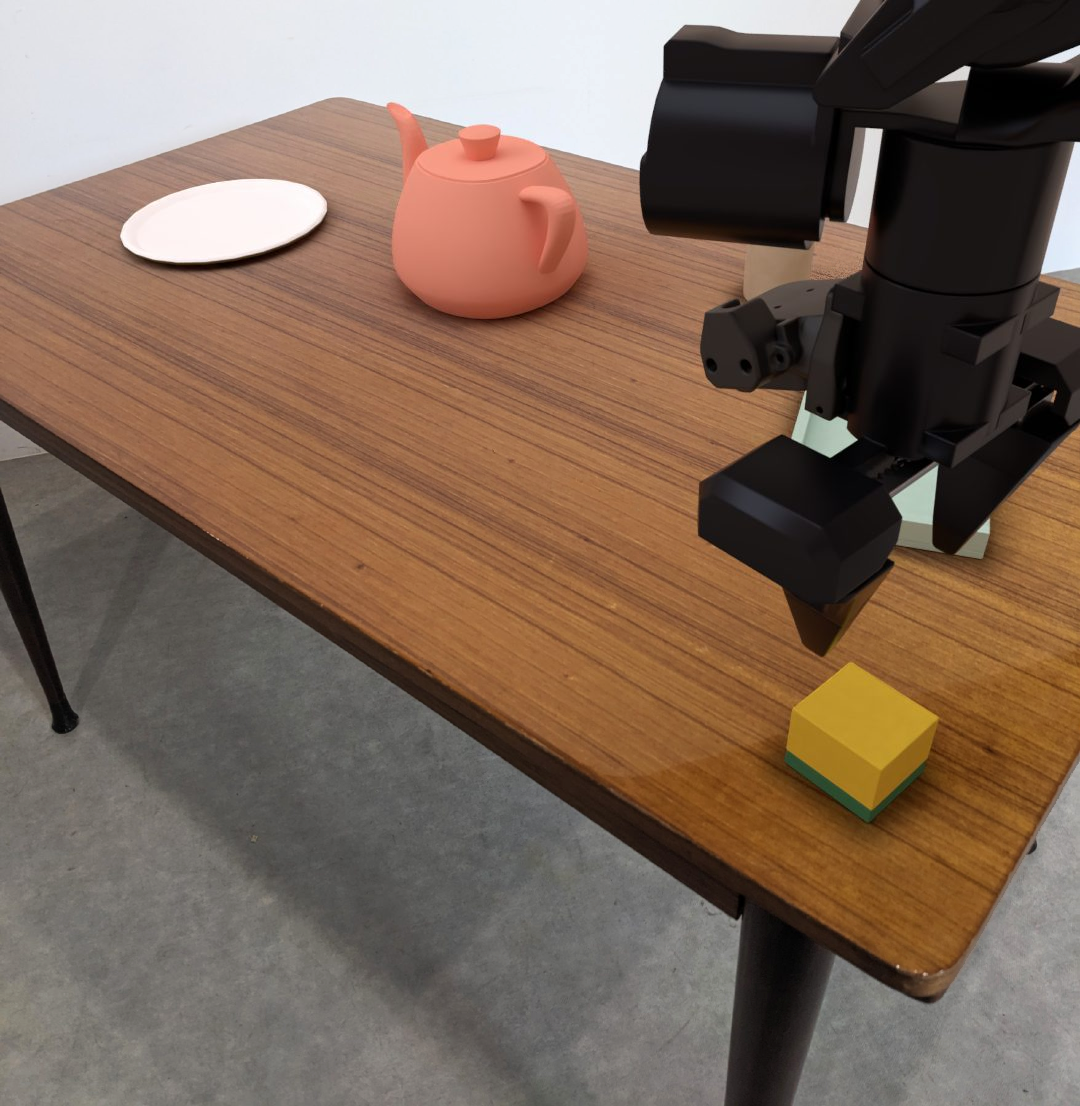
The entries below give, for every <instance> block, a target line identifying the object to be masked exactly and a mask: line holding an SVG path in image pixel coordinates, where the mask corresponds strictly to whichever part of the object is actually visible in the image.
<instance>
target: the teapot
mask: <svg viewBox="0 0 1080 1106" xmlns="http://www.w3.org/2000/svg"><path fill="white" fill-rule="evenodd" d="M386 109H387V112H388V113H389V115H390V116H391V118H392V120H393V121H394V123H395V125H396V128H397V131H398V134H399V139H400V143H401V156H402V159H401V160H402V185H403V188H402V191H401V194H400V197H399V200H398V203H397V207H396V210H395V215H394V220H393V225H392V236H391V253H392V262H393V267H394V269H395V272H396V274H397V275H398V278H399V279H400V280H401V282H402V283H403V284H404V285H405V286H406V288H408V290H410V291H411V293H413V294H414V295H415V296H416V297H417V298H418V299H420V301H422V302H423V303H425V304H426V305H427V306H429V307H430V308H433V309H435V310H437V311H439V312H442V313H445V314H447V315H448V314H449V315H452V316H457V317H460V318H466V319H474V320H476V319H477V320H493V319H503V318H508V317H513V316H514V317H515V316H517V315H521V314H525V313H528V312H531V311H533V310H536V309H539V308H542V307H544V306H546V305H548V304H550V303H552V302H554V301H555V300H558V299H559V298H561V297H562V296H564V295H565V294H567V292H568V291H569V290H570V289H571V288H572V286H573V285H574V284H575V283H576V282H577V280H578V279H579V278H580V276H581V275H582V273H583V271H584V270H585V268H586V267H587V263H588V259H589V256H590V253H589V240H588V235H587V230H586V226H585V222H584V217H583V215H582V212H581V209H580V207H579V204H578V202H577V200H576V198H575V196H574V194H573V192H572V190H571V188H570V186H569V184H568V182H566V180H565V178H564V176H563V174H562V173H561V171H560V169H559V167H558V165H557V164H556V162H555V161H554V160H553V159H552V157H551V156H550V154H549V153H548V152H547V151H546V150H545V149H544V148H543V147H542V146H540V145H539V144H537V143H535V142H534V141H531V140H529V139H525V138H521V137H518V136H513V135H507V134H502V133H501V132H502V130H501V128H500V127H498V126H495V125H492V124H474V125H470V126H466V127H464V128H462V129H460V130H459V131H458V133H457V135H458V138H455V139H451V140H447V141H445V142H441V143H438V144H436V145H433V146H431V147H429V145H428V143H427V141H426V138H425V135H424V133H423V130H422V129H421V126H420V124H419V122H418V120H417V118H416V117H415V116H414V114H413V113H412V112H411V111H410V110H409V109H407V108H406V107H405V106H403V105H401V104H400V103H397V102H392V101H391V102H388V103H386Z"/></svg>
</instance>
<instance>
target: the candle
mask: <svg viewBox="0 0 1080 1106" xmlns="http://www.w3.org/2000/svg"><path fill="white" fill-rule="evenodd" d="M745 245H746V247H745V260H744V272H743V273H744V274H743V287H742V288H743V289H742V292H743V297H744V299H745V300H746V302H747V301H749V300H751V299H753V298H755V297H757V296H759V295H761V294H762V293H764V292H766V291H768V290H770V289H772V288H775V287H777V286H780V285H783V284H786V283H790V282H795V281H803V280H811V278H812V271H813V260H814V253H815V245H816V242H815V241H814V242H813V244H812V246H811V248H810V249H809V250H800V249H790V248H780V247H770V246H760V245H750V244H745Z"/></svg>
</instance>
